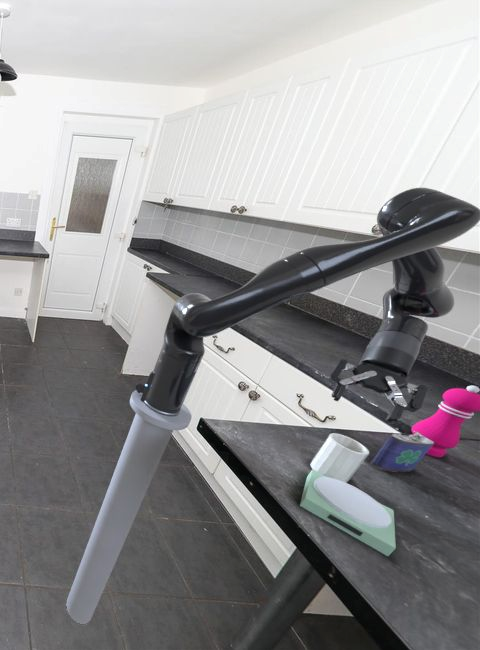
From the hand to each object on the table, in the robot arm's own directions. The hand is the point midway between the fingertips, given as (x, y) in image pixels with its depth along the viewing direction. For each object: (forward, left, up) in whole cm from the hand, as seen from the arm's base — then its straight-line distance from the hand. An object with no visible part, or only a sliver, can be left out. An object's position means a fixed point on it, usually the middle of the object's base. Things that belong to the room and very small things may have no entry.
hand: (362, 409), depth 77 cm
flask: (+10, +8, -14) cm, 19 cm away
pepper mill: (+16, +27, -14) cm, 34 cm away
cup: (0, -9, -14) cm, 17 cm away
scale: (+3, -21, -14) cm, 26 cm away
